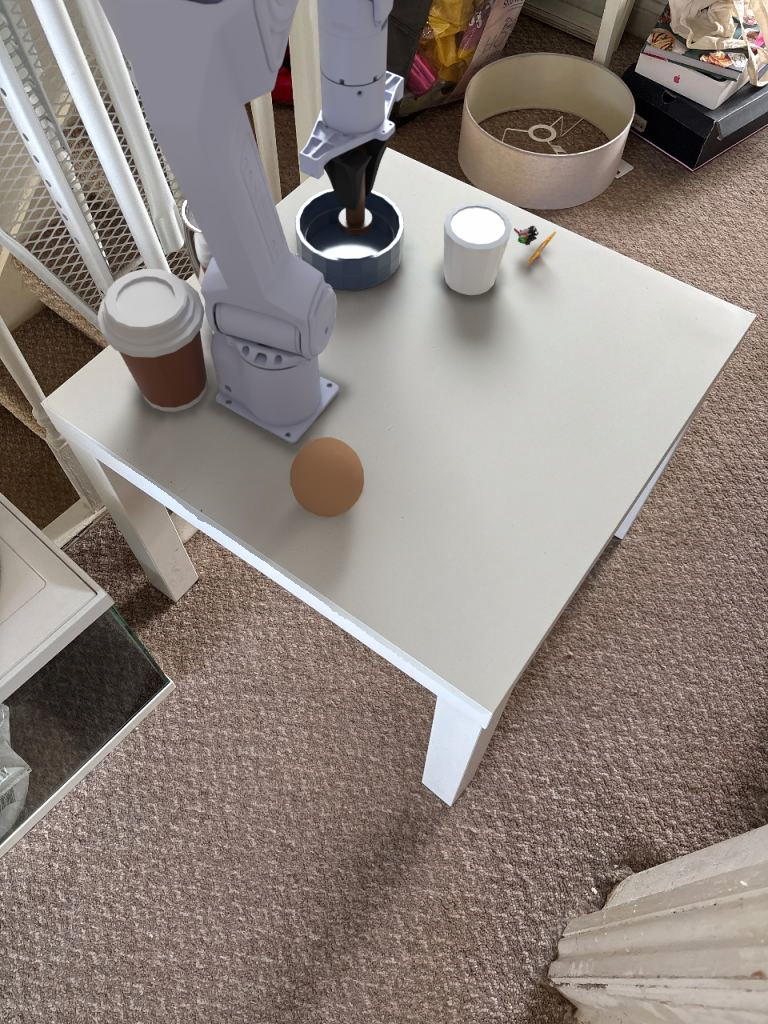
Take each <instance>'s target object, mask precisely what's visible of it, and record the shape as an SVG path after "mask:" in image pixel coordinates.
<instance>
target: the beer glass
mask: <svg viewBox="0 0 768 1024" xmlns="http://www.w3.org/2000/svg"><path fill="white" fill-rule="evenodd" d="M180 217H181V221H182V227H183V234H184V242H185V245H186V250H187V255H188V258H189V262H190V265H191V268H192V270H193V273H194V275H195V277H196V280H197V282H198V284H199V286H200V287H201V285H202V281H203V278H204V275H205V272H206V270H207V267H208V265H209V263H210V261H211V259H212V257H213V256H212V254H211V252H210V249H209V247H208V245H207V243H206V241H205V239H204V237H203V235H202V233H201V231H200V229H199V227H198V225H197V223H196V220H195V218H194V216H193V214H192V212H191V210H190V208H189V206H188V204H187V202H186V200H185V199H184V201H183V202H182V204H181V208H180ZM211 334H212V336H213V335H214V331H213V330H212V329H211Z"/></svg>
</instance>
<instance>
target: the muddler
mask: <svg viewBox="0 0 768 1024" xmlns="http://www.w3.org/2000/svg"><path fill="white" fill-rule="evenodd" d="M357 150H359V151H361V152H363V153H365V154H366V149H365V147H364V145H362V144H361V145H359V146H357ZM372 225H373V217H372V214H371V212H370V211H369V210H367V209H366V208H365V172H364V175H363V179H362V184H361V194H360V201H359V204H358V207H357V208H356V209H355V210H351V209H348V208H344V209H343V210H342V211H341V212H340V213H339V215H338V226H339V229H340V230H341V231H342V232H343V233H344V234H346V235H348V236H352V237H359V236H363V235H365V234H367V233H369V232H370V230H371V229H372Z"/></svg>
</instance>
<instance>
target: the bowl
mask: <svg viewBox="0 0 768 1024" xmlns="http://www.w3.org/2000/svg"><path fill="white" fill-rule="evenodd" d="M344 208H346V207H344V206H342V205H340V204H338V202H337V199H336V196H335V193H334V190H333V187H332V188H328V189H324V190H322V191H319V192H318V193H316V194H314V195H312V196H310V197H309V198H308V199H307V200H306V201H304V203H303V204H302V205H301V206H300V207H299V209H298V211H297V214H296V216H295V217H294V225H295V240H296V252H297V257H298V258H300V259H302V260H303V261H305V262H306V263H308V264H309V265H311V266H312V267H314V268H315V269H317V270H318V271H320V272H321V273H322V274H323V277H324V281H325V283H327V284H330V285H331V286H332V289H337V290H344V291H357V290H358V291H359V290H363V289H368V288H371V287H374V286H378V284H381V283H382V282H384V281H386V280H387V279H389V278H390V277H391V276H392V275H394V274H395V272H396V271H397V270H398V268H400V264H401V261H402V258H403V253H404V238H405V237H404V236H405V235H404V234H405V223H404V222H405V221H404V216H403V214H402V212H401V210H400V208H399V207H398V205H397V204H396V203H395V202H394V201H393V200H392V199H390V198H389V197H388V196H387V195H385V194H383V193H380V192H379V191H376V190H374V189H372V191H371V193H370V194H369V195H368V196H366V195H365V208H366V209H367V210H369V211H370V212H371V214H372V217H373V225H372V229H371V230H370V232H369V233H367V234H365V235H363V236H359V237H352V236H348V235H346V234H344V233H343V232H342V231H341V230H340V229H339V226H338V215H339V213H340V212H341V211H342V210H343V209H344Z"/></svg>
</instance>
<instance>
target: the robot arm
mask: <svg viewBox="0 0 768 1024" xmlns="http://www.w3.org/2000/svg"><path fill="white" fill-rule="evenodd" d="M97 1H98V2H99V5H100V7H101V10H102V11H103V13H104V16H105V18H106V20H107V22H108V24H109V27H110V28H111V31H112V32H113V33H112V34H114V37H115V40H116V41H117V43H118V45H119V47H120V49H121V51H122V54H123V55H124V57H125V58H126V59H127V60H128V61H129V63H130V64H131V67H132V71H133V75H134V78H135V82H136V86H137V90H138V94H139V97H140V101H141V104H142V108H143V111H144V116H145V117H146V119H147V123H148V125H149V127H150V129H151V131H152V134H153V135H154V138H155V140H156V142H157V144H158V146H159V148H160V150H161V152H162V154H163V156H164V159H165V160H166V163H167V164H168V167H169V169H170V171H171V173H172V175H173V177H174V179H175V181H176V183H177V185H178V187H179V189H180V192H181V194H182V195H183V198H184V201H185V200H186V202H187V204H188V206H189V208H190V210H191V212H192V214H193V216H194V218H195V220H196V223H197V225H198V227H199V229H200V231H201V233H202V235H203V237H204V239H205V241H206V243H207V245H208V247H209V249H210V252H211V254H212V256H213V257H212V259H211V261H210V263H209V265H208V267H207V270H206V272H205V275H204V278H203V281H202V285H201V286H200V294H201V296H202V298H203V300H204V311H205V312H204V314H205V317H206V320H207V323H208V325H209V327H210V329H211V331H212V330H213V331H214V335H213V334H212V339H211V344H210V354H211V359H212V362H213V367H214V370H215V375H216V380H217V382H218V386H219V390H220V391H219V392H218V393H217V394H216V395H215V402H216V403H217V404H219V405H220V406H223V407H224V408H226V409H228V410H230V411H232V412H233V413H235V414H237V415H238V416H240V417H242V418H243V419H246V420H247V421H249V422H251V423H253V424H254V425H257V426H258V427H260V428H262V429H263V430H265V431H267V432H269V433H271V434H272V435H274V436H276V437H278V438H279V439H282V440H283V441H285V442H287V443H288V444H291V445H294V444H296V443H297V442H299V440H300V439H301V438H302V436H303V435H304V434H305V433H306V432H307V430H308V429H309V428H310V427H311V426H312V425H313V423H314V422H315V421H316V419H318V417H319V416H320V415H321V413H323V411H325V409H326V407H328V405H329V404H330V403H331V402H332V400H333V399H334V398H335V397H336V396H337V395H338V393H339V391H340V387H339V385H338V384H336V383H335V382H333V381H331V380H329V379H328V378H325V377H323V376H321V375H320V363H319V355H321V354H322V353H323V352H324V351H325V350H326V347H327V346H328V343H329V341H330V339H331V336H332V333H333V330H334V326H335V321H336V316H337V306H338V305H337V304H338V302H337V296H336V294H335V291H334V288H333V287H332V286H331V285H330V284H327V283H325V281H324V277H323V274H322V273H321V272H320V271H318V270H317V269H315V268H314V267H312V266H311V265H309V264H308V263H306V262H305V261H303V260H302V259H300V258H298V255H295V254H294V253H293V252H291V250H290V248H289V244H288V241H287V238H286V235H285V232H284V228H283V225H282V222H281V218H280V216H279V212H278V209H277V206H276V202H275V199H274V197H273V193H272V190H271V187H270V183H269V180H268V177H267V173H266V171H265V167H264V164H263V161H262V158H261V154H260V151H259V148H258V145H257V141H256V139H255V135H254V132H253V129H252V126H251V125H252V124H251V122H250V119H249V115H248V113H247V109H246V106H245V105H246V104H248V103H250V102H252V101H254V100H256V99H258V98H260V97H263V96H264V95H267V94H269V93H270V92H273V91H274V89H275V86H276V82H277V78H278V74H279V71H280V68H281V67H282V65H283V63H284V58H285V54H286V50H287V46H288V42H289V39H290V35H291V30H292V25H293V22H294V18H295V14H296V10H297V6H298V4H299V1H300V0H97ZM316 5H317V6H316V8H317V25H318V26H317V29H318V48H319V49H318V50H319V75H320V76H319V77H320V94H321V108H320V111H319V113H318V115H317V117H316V121H315V123H314V126H313V128H312V131H311V133H310V135H309V137H308V140H307V142H306V145H305V146H304V147H303V148H302V149H301V150H300V151H299V153H298V158H299V171H300V172H301V173H303V174H305V175H307V176H308V177H312V178H314V179H317V180H320V179H321V178H322V177H323V176H324V174H325V173H326V175H327V177H328V179H329V182H330V184H331V187H332V188H333V190H334V193H335V196H336V199H337V202H338V204H340V205H342V206H344V207H346V208H348V209H351V210H355V209H356V208H357V207H358V204H359V201H360V194H361V184H362V179H363V175H364V172H365V195H366V196H368V195H369V194H370V193H371V191H372V190H374V187H375V186H374V185H375V182H376V179H377V175H378V172H379V168H380V165H381V162H382V159H383V157H384V155H385V152H386V150H387V148H388V147H389V145H390V143H391V141H392V139H394V137H395V135H396V130H397V129H396V124H395V123H394V122H393V121H391V120H390V119H389V118H390V115H391V112H392V109H393V106H394V104H395V102H396V103H397V102H399V101H401V99H403V98H404V86H405V77H403V76H401V75H398V74H396V73H393V72H390V71H388V70H387V57H388V56H387V54H388V53H387V52H388V27H389V26H388V25H389V22H388V21H389V15H390V13H391V12H392V10H393V7H394V0H316ZM361 144H362V145H364V147H365V149H366V154H365V153H363V152H361V151H359V150H357V146H359V145H361Z"/></svg>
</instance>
